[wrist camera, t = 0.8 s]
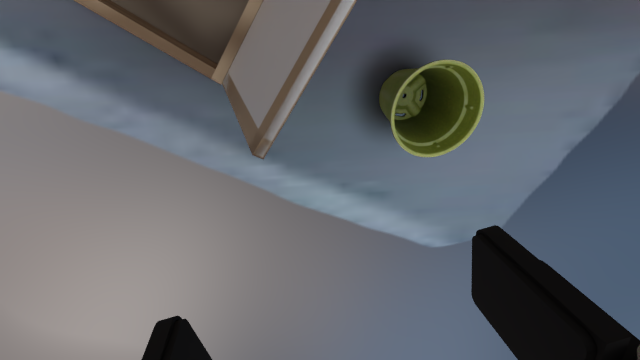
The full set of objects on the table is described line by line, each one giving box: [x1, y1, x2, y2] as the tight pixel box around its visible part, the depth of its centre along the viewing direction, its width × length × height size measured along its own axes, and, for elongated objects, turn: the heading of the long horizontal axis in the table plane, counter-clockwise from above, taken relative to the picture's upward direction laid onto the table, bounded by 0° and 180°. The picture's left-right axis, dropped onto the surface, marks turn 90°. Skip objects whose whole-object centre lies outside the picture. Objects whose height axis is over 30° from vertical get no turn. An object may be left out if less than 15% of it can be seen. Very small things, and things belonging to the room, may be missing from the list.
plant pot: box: [379, 60, 484, 157], centre depth 33 cm, size 9×9×9 cm
